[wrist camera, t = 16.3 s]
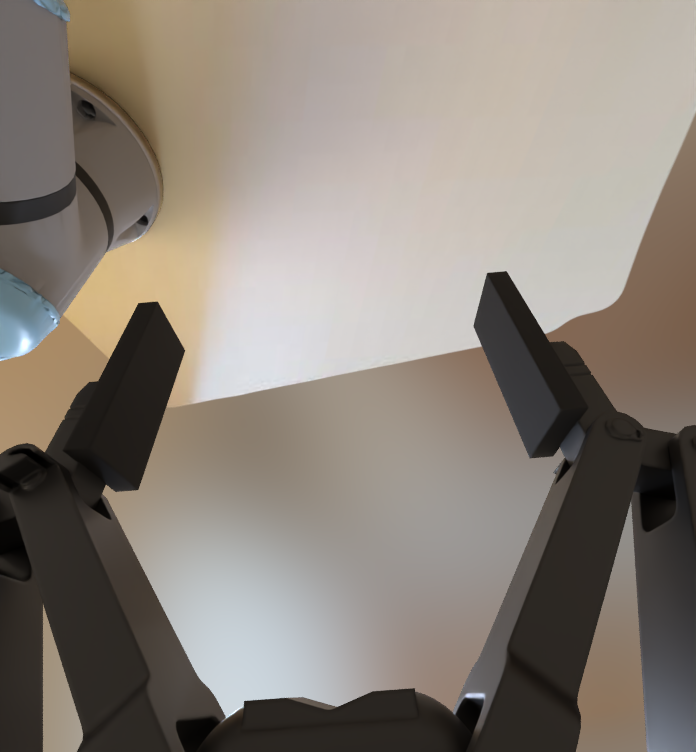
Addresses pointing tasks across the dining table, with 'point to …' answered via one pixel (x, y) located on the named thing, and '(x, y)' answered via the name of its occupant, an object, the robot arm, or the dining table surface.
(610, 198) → the dining table surface
